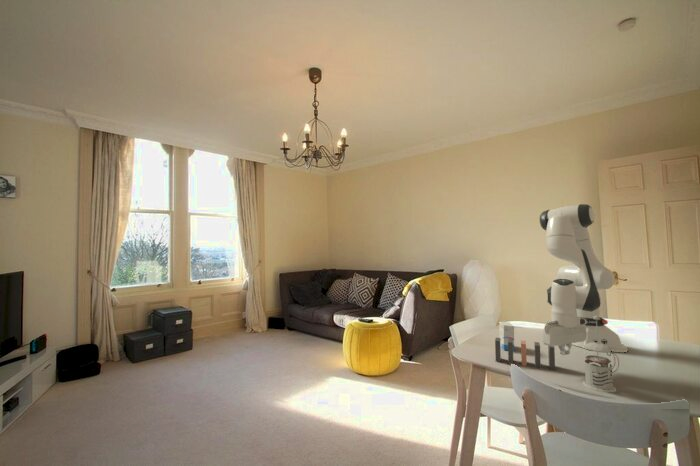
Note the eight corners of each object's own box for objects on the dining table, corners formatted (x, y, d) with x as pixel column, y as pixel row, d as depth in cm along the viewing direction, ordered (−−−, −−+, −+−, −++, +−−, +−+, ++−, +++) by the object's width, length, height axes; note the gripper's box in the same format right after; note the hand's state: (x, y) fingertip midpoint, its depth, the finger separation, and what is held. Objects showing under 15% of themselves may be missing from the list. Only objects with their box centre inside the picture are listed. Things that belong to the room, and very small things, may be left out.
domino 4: (539, 363, 136) (539, 342, 136) (540, 368, 131) (540, 346, 132) (534, 363, 137) (534, 341, 137) (535, 367, 132) (535, 345, 132)
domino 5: (553, 365, 134) (553, 344, 134) (555, 370, 129) (554, 347, 129) (548, 365, 134) (548, 343, 135) (549, 369, 130) (549, 347, 130)
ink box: (515, 351, 152) (514, 325, 152) (503, 350, 153) (503, 325, 153) (509, 345, 160) (509, 321, 160) (499, 344, 161) (498, 320, 161)
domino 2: (513, 360, 140) (512, 339, 141) (513, 364, 136) (512, 342, 136) (508, 359, 141) (508, 338, 141) (508, 363, 137) (508, 342, 137)
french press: (575, 380, 120) (573, 312, 120) (607, 380, 119) (605, 312, 120) (594, 392, 110) (592, 319, 110) (629, 392, 110) (627, 319, 110)
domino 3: (526, 361, 138) (525, 340, 138) (526, 366, 134) (525, 344, 134) (521, 361, 139) (520, 340, 139) (521, 365, 135) (521, 343, 135)
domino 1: (500, 358, 143) (500, 337, 143) (500, 362, 138) (499, 341, 138) (496, 357, 144) (495, 337, 144) (495, 361, 139) (495, 340, 139)
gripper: (552, 324, 124) (553, 360, 123) (589, 319, 130) (590, 353, 130) (538, 320, 130) (538, 354, 129) (574, 316, 136) (574, 348, 136)
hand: (564, 354), depth 130 cm, fingers closed
